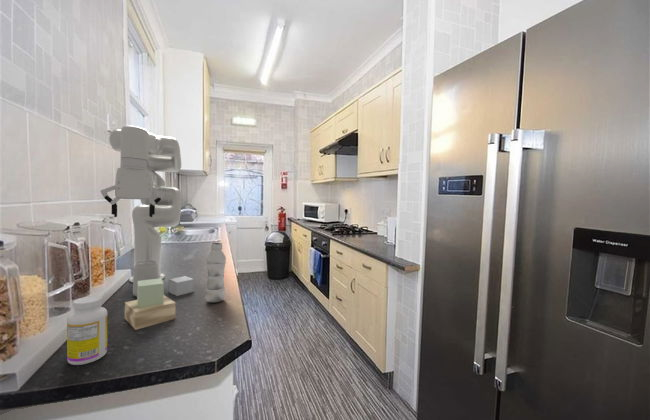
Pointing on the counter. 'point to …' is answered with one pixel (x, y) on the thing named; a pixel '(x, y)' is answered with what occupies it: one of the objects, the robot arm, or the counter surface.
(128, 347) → the counter surface
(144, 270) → the can
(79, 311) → the supplement bottle
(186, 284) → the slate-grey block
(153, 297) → the sage-green block
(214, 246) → the plastic bottle
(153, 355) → the counter surface
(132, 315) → the beech block
